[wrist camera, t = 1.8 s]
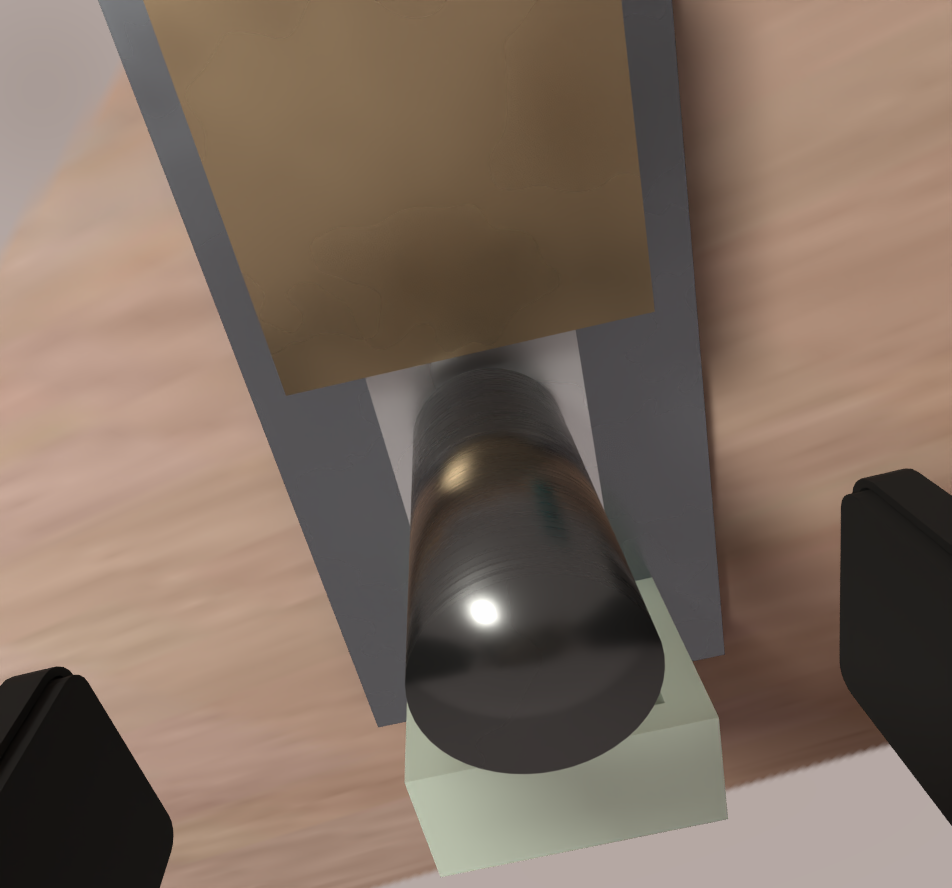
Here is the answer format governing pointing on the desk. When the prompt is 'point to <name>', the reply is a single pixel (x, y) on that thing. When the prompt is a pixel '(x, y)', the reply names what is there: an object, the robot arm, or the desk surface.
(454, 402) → the grey slider block
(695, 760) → the socket
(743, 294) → the desk surface
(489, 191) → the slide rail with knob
